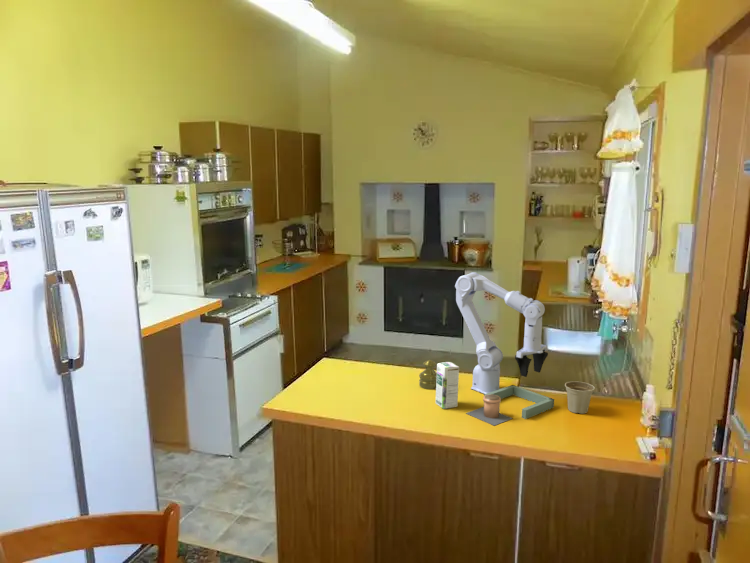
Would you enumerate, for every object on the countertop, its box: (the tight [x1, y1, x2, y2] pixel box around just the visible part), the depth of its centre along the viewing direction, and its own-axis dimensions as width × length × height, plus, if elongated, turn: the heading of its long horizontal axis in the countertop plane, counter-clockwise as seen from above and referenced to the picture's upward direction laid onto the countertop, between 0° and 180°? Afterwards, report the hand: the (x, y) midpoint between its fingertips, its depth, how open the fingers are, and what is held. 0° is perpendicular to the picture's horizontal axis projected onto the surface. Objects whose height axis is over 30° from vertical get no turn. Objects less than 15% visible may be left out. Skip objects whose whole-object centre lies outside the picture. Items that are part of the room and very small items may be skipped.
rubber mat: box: [465, 406, 513, 427], centre depth 185 cm, size 12×9×1 cm
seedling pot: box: [482, 395, 502, 418], centre depth 185 cm, size 6×6×6 cm
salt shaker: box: [418, 359, 437, 390], centre depth 211 cm, size 7×7×10 cm
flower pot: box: [564, 380, 596, 415], centre depth 189 cm, size 9×9×9 cm
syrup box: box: [435, 361, 460, 410], centre depth 192 cm, size 6×6×14 cm
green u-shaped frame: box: [483, 384, 555, 420], centre depth 194 cm, size 18×16×3 cm
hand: (530, 373), depth 198 cm, fingers open, 7 cm apart
